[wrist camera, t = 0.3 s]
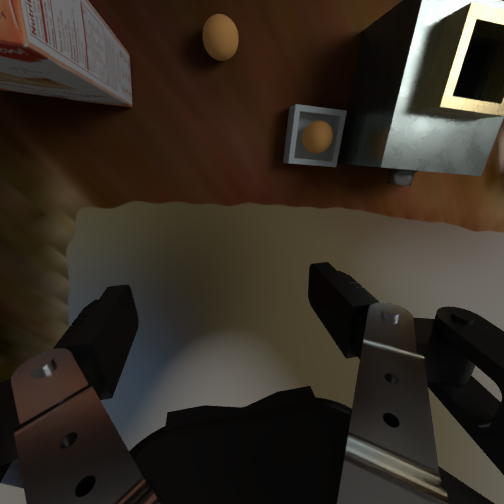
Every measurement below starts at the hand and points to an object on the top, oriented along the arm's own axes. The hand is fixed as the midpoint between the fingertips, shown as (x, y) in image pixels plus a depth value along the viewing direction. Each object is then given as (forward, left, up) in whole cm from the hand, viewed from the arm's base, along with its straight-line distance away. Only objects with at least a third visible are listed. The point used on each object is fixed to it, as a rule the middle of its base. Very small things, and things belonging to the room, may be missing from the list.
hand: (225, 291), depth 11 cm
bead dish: (-9, +14, -27) cm, 32 cm away
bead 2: (-9, +14, -27) cm, 31 cm away
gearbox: (-14, +26, -27) cm, 40 cm away
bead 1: (-18, +1, -27) cm, 32 cm away
